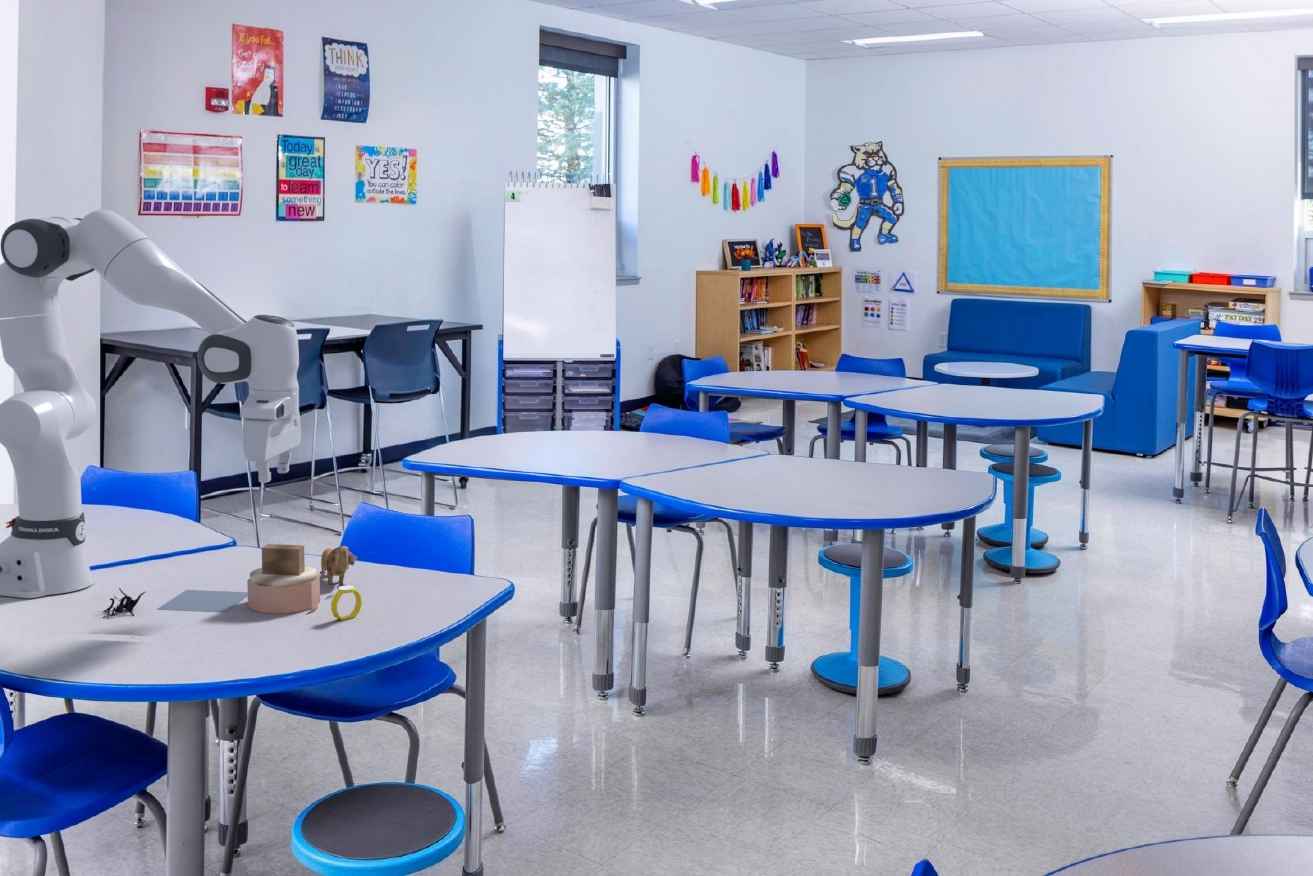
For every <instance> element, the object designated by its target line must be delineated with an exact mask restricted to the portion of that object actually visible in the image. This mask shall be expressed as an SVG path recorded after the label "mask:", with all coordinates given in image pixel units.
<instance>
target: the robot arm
mask: <svg viewBox="0 0 1313 876" xmlns="http://www.w3.org/2000/svg"><path fill="white" fill-rule="evenodd" d="M0 253H1V257H2V260H3V261H4V262H2V263H1V264H0V345H1V346H0V347H1V350H2V357H3V359H4V361H5V363H6V364H7V365H8V366H9V367H11V368H12V370H13V371H14V373H15V374H16V376H17V377H18V379H19V382H20V384H21V386H22V388H23V392H19V393H16V394H14V395H11V396H10V397H9V398H7V399H5V400H4V401H3V402H1V403H0V445H2V446H3V447H4V448H5V450H6V452H7V454H8V456H9V459H10V462H11V464H12V467H13V470H14V475H15V479H16V487H17V488H16V489H17V502H18V503H17V504H18V516H16V517H14V518H12V519H11V520H10V521H7V522H5V525H6V524H7V525H6V526H5V529H9V528H11V533H10V535H9V536H7V537H6V538H5V539H4V540H2V541H1V542H0V596H4V597H13V598H20V599H21V598H22V599H34V598H40V597H41V598H42V597H45V596H50V595H59V594H65V593H71V592H74V591H75V592H76V591H79V590H82V589H85V588H88V587H90V586H92V585H93V584H94V583H95V580H94V577H93V574H92V572H91V571H92V570H91V569H90V565H89V560H88V557H87V551H86V544H85V541H86V520H85V513H84V512H83V508H82V507H83V505H82V485H81V484H82V483H81V475H80V473H79V471H78V470H77V468H75V467H74V466H73V465H72V462H71V460H70V459H71V458H70V457H69V453H68V450H67V446H66V443H67V441H69V440H73V439H75V438H77V437H79V436H81V435H82V434H84V433H85V432H86V431H87V430H88V429H90V428H91V426H92V425H93V423H94V422H95V419H96V418H97V412H98V411H97V405H96V402H95V400H94V398H93V396H92V395H91V394H90V392H88V391H87V390H86V389H85V388H84V387H83V385H82V383H81V381H80V379H79V377H78V374H77V372H76V370H75V368H74V366H73V365H74V364H73V363H72V360H71V357H70V354H69V351H68V349H69V348H68V346H67V341H66V340H67V339H66V334H65V329H64V323H63V316H62V311H61V306H60V301H59V300H60V299H59V287H60V285H61V283H62V282H63V281H64V280H66V281H69V282H73V281H75V280H77V279H79V278H81V277H83V276H85V275H88V274H90V273H93V272H95V271H96V272H97V273H98V274H99V275H100V276H101V277H102V278H103V279H104V280H105V281H106V282H107V283H108V284H109V285H110V286H111V287H113V288H112V289H114V290H115V291H117V292H118V293H119V294H121V295H122V296H123V297H125V298H127V299H128V300H130V301H131V302H133V303H135V304H137V305H138V304H139V305H142V306H147V307H152V308H159V309H163V310H166V311H167V310H168V311H172V312H175V313H178V314H180V315H182V316H185V317H187V318H189V319H190V320H191V321H193V322H194V323H196V324H197V325H198V326H199V327H200V328H201V329H203V330H204V331H205V332H207V334H208V336H206V337H204V339H203V340H202V341H201V343H200V345H199V346H198V349H197V355H196V356H197V358H196V359H197V364H198V367H199V370H200V372H201V373H202V374H203V376H204V377H205V378H206V379H207V380H209V381H211V382H213V383H217V384H222V385H223V384H224V385H229V384H235V383H242V382H247V384H248V395H247V398H246V400H245V401H244V403H243V404H242V405H241V406H240V410H239V411H240V412H239V416H240V418H241V419H244V420H243V421H242V422H243V424H242V445H243V453H244V457H245V459H246V461H248V462H255V467H256V470H257V472H258V482H259V483H265V484H267V483H269V482H270V481H272V472H271V471H270V467H269V465H270V459H272V458H274V457H276V456H278V455H279V456H278V463H277V464H276V469H277V473H278V474H286V473H289V471H290V461H291V457H292V454H293V448H296V447H299V446H300V444H301V441H302V424H301V414H300V385H299V381H298V378H297V377H298V376H297V375H298V369H299V366H300V353H299V350H300V349H299V338H298V332H297V329H296V327H295V325H294V323H293V322H291V321H290V320H288V319H287V318H284V317H280V316H276V315H268V314H258V315H254V316H252V318H250V319H249V320H248V321H247V320H245V319H243V317H241V316H240V315H239V314H238V313H236V312H235V311H234V310H233V309H232V308H230V307H229V306H228V305H227V304H226V303H225V302H223V301H222V300H221V299H220V298H218V296H216V295H215V294H214V293H212V291H210V290H209V289H208V288H206V286H204V285H203V284H201V283H200V282H199V281H197V280H196V279H195V278H194V277H192V276H191V275H190V274H189V273H188V272H186V271H185V270H184V269H183V268H182V267H181V266H179V264H177V263H176V262H175V261H174V260H173V259H172V258H171V257H170V256H169V255H168V254H166V253H165V252H164V250H162V249H161V247H159V246H158V245H157V244H156V243H155V242H154V241H153V240H152V239H151V238H149V237H148V235H146V234H145V233H144V232H143V231H142V230H140V229H139V228H138V227H137V226H136V225H134V224H133V223H131V222H130V221H129V220H128V219H126V218H125V217H124V216H121V215H120V214H118V213H117V212H115V211H113V210H110V209H102V208H101V209H96V210H94V211H92V212H88V214H86V215H85V216H83V217H82V218H80V217H75V218H71V217H63V216H51V217H45V218H27V219H23V220H19V221H17V222H14V223H13V224H11V225H9V226H8V227H7V228H6V229H5V230H4V232H3V234H2V237H1V239H0Z"/></svg>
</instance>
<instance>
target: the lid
mask: <svg viewBox="0 0 1313 876" xmlns="http://www.w3.org/2000/svg"><path fill="white" fill-rule="evenodd" d="M317 573H318V570H317V569H316V568H315V567H313V566H309V565H305V545H300V544H278V543H277V544H275V543H274V544H272V543H267V544H265V545H264V546H262V547H261V567H259V568H256V569H254V570H252V571H251V572H250V573H249V579H250V581H251V582H252V583H254V584H257V585H262V586H271V587H283V586H294V585H300V584H305V583H308V582H311V581H313V580H315V579H316V578H317V575H318V574H317Z"/></svg>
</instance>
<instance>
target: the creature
mask: <svg viewBox="0 0 1313 876" xmlns="http://www.w3.org/2000/svg"><path fill="white" fill-rule="evenodd" d="M118 590H119V591H120V592H121V594H122V595H124V596H123V597H122V598H121V599H118V601H119V603H118V604H116V607H114V605H115V600H116V599H117V597H116V596H115V595H113V597H114V598H113V597H110V598H109V600H110V601H111V604H110V606H109V607H107V608H106V609H105V610H103V611H102V612H107V613H105V614H104V615H103V619H105V616H107V617H106V620H108V619H109V617H113V616H114V615H115V613H119V614H121V613H123V612H124V609H125V610H126V611H128V613H130V614H131V615H132V617H135V614H134V608H135V606H136V605H137V604H138V602H139V601H140V599H141V597H142V596H143V595H144V594H145V593H146V591H143V592H142V593H140V594H139V595H138V596H137V598H136V599H133V598H132V597H131V596H129V595H127V594H126V593H125V592H124V591H123V590H122V589H121V587H119V588H118ZM112 608H113V609H112ZM110 612H111V613H110Z"/></svg>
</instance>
